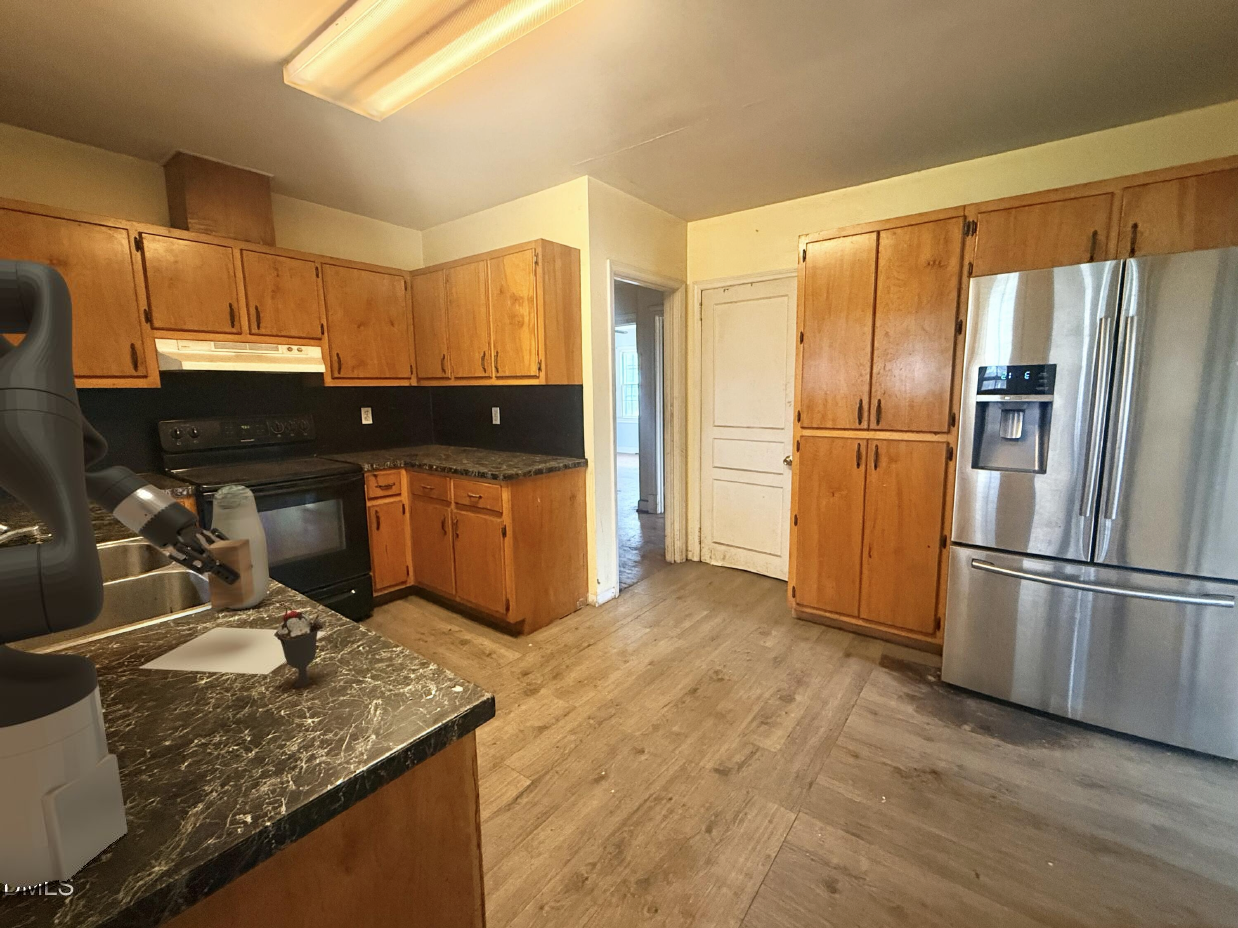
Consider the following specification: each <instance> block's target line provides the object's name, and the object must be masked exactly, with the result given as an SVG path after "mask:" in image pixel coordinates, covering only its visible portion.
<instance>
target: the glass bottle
mask: <svg viewBox="0 0 1238 928" xmlns="http://www.w3.org/2000/svg"><path fill="white" fill-rule="evenodd" d="M213 528H217V529H218V530H219V531H221V532H222V533H223V534H224V535H225V536H226V537H227V538H229V539H230V540H241V539H249V545H250V554H251V564H252V565H253V568H252V574H253V584H254V593H255V595H254V596H253V597H252V598H251V599H250V600H249V601H248V602H247V603H246V604H245V605H240V606H231V607H228V608H229V609H232V610H247V609H251V608H252V607H255V606H256V605H258V604H259V603H261V602H263V600H264V599H265V597H266V596H267V594H268V592H269V590H270V589H269V588H270V573H269V560H268V548H267V547H268V546H267V537H266V532H265V529H264V526H263V524H262V521H261V518H260V516H259V513H258V509H257V504H256V500H255V497H254V494H253V492H252V491H251V489H249V488H248V487H246V486H244V485H240V484H236V485H235V484H233V485H226V486H223V487H221V488H220V489H218V490H217V491H216V492H215V494H214V496H213V500H212V521H211V528H210V530H212V529H213ZM246 608H247V609H246Z"/></svg>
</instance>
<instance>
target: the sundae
mask: <svg viewBox="0 0 1238 928" xmlns="http://www.w3.org/2000/svg"><path fill="white" fill-rule="evenodd" d="M278 605H279V606H280V607H283V608H284V609H285V610H286V611H285V614H284V615H282V617H281V618H282V620H283V621H282V622H281V623H280V624H279V626H278V628H277V630H278V631H277V632H276V633H275V634H274V636H275V637H277V638H278V640H280V641H281V644H282V648H283V652H284V656H285V659H286V661H285V662H286V663H287V665H288V666H290V667H291V668H293V669H296V670H297V672H298V673H297V674H298V675H297V676H298V678H297V680H296V683H295V684H294V686H295V687H298V688H302V687H306V686H308V685H309V684H311V683H312V682H313V681H312V679H310V678H309V676H308V673H307V672H308V671H307V668H308V667H309V665H311V664H312V663H313V661H314V660H315V658H316V653H317V642H318V639H317V633H318V631H321V630H323V629H324V626H323V624H322V622H321V621H319V620H318V619H319V617H320V614H317V615H316V617H315V618H314V620H312V619H311V616H310V614H307V613H305V612H298V611H297V610H293V609H291V607H289V605H286V604H285V603H284V602H280V603H278ZM287 608H288V609H289V610H290V613H288V609H287ZM307 694H308V693H307V692H305V693H301V694H299V693H298V694H293V696H294V697H295V696H302V695H307Z"/></svg>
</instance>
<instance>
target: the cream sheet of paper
mask: <svg viewBox="0 0 1238 928" xmlns="http://www.w3.org/2000/svg"><path fill="white" fill-rule="evenodd" d="M277 631H278V629H268V628H267V629H266V628H265V629H264V628H242V627H241V628H240V627H221V626H220V627H214V628H212V629H210V630H208V631H207V632H205V633H203V634H201V635H199V636H197V637H195V638H193V639H191V640H189V641H188V642H186V643H185V642H184V643H183V644H181V645H180V646H178V647H176V648H174V649H172V650H170V651H168V652H166V653H164V654H163V655H161V656H158V657H157V658H155V659H153V660H150V661H149V662H147V663H145V664H144V665H142V666H139V667H138V669H149V670H167V671H169V670H170V671H171V670H172V671H187V672H188V671H189V672H190V671H191V672H206V673H207V672H209V673H210V672H211V673H230V674H248V675H249V674H251V675H268V674H270V673H272V671H274V670H275V669H277V668H278V667H280V666H281V665H282V664H284V663H285V662H287V661H286V659H285V656H284V652H283V648H282V644H281V641H280V640H278V638H277V637H275V636H274V634H275V633H276V632H277ZM327 633H328V631H321V630H319V631H318V633H317V640H319V639H320V638H321V637H323V636H324V635H325V634H327Z"/></svg>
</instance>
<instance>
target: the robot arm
mask: <svg viewBox="0 0 1238 928" xmlns="http://www.w3.org/2000/svg"><path fill="white" fill-rule="evenodd" d="M5 335H25V336H23V338H22V340H21V341H20V342H19V343H18V344H17V345H15V344H13V342H11V341H10V340H8V338H7V337H6V336H5ZM73 363H74V362H73V305H72V297H71V293H70V290H69V286H68V283H67V281H66V280H65V278H64V276H63V275H62V274H61V272H59V270H57V269H56V268H54V267H53V266H52V265H49V264H46V263H43V262H37V261H31V260H21V259H18V260H17V259H7V258H6V259H4V258H0V488H1V489H3V490H4V491H6V492H7V493H9V494H11V495H12V496H13V497H15V498H16V499H17V500H19V501H20V502H21V503H23V504H24V505H25V506H26V507H27V508H28V509H29V510H31V512H33V514H35V516H36V517H37V518H38V519H39V520H40V521H41V522H42V524H43V525H44V526H45V528H46V529H47V530H48V532H49V533H50V535H51V537H52V539H51V540H49V541H45V542H41V543H40V542H38V543H30V544H23V545H15V546H8V547H1V548H0V883H2V884H4V885H6V884H7V886H8V885H9V886H10V887H14V888H15V887H21V888H22V887H25V888H26V886H27V887H29V886H36V885H38V884H42V883H44V882H49V881H53V880H59V881H66V882H68V881H69V880H71V879H72V878H73V877H74V876H75V875H77V874H78V873H79V872H80V871H81V870H82V869H81V868H83V866H84V865H86V864H87V863H88V862H89V861H90V860H92V859H93V858H94V857H96V856H97V855H98V854H99V853H100V852H101V851H103V850H104V849H106V848H107V847H108V846H109V845H110V844H112V843H113V842H115V841H116V840H117V839H118V840H120V839H121V838H122V837H123V836H125V835H126V834H127V833H128V825H127V819H126V813H125V812H126V810H125V806H124V799H123V791H122V785H121V779H120V778H121V777H120V772H119V764H118V757H117V755H116V754H114V753H109V749H108V748H109V747H108V741H107V736H106V727H105V721H104V714H103V707H102V701H101V694H100V687H99V680H98V679H99V678H98V674H97V668H96V664H95V663H94V661H93V660H92V659H90V658H89V657H87V656H85V655H82V654H81V655H80V654H72V653H40V652H39V653H38V652H30V651H24V650H19V649H16V648H13V647H10V646H9V645H6V644H12V643H17V642H21V641H25V640H29V639H35V638H39V637H44V636H49V635H51V634H56V633H61V632H65V631H70V630H74V629H78V628H81V627H84V626H87V625H90V624H92V623H94V622H95V621H96V620H97V619H98V618H99V616H100V615H101V613H102V609H103V606H104V600H105V596H104V595H105V590H104V579H103V577H104V576H103V571H102V566H101V561H100V555H99V550H98V547H97V540H96V535H95V531H94V526H93V521H92V515H91V511H90V505H89V501H91V502H93V503H94V504H96V505H98V506H99V507H101V508H102V509H103V510H105V511H107V512H108V513H110V514H111V515H113V517H115V518H116V519H117V520H118V521H120V522H121V523H122V524H123V525H124V526H126V528H129V529H130V530H131V531H133V532H134V533H136V534H137V535H138V536H140V537H142V538H144V539H145V541H147V542H149V543H151V544H152V545H153V546H155V547H157V548H158V549H161V550H164V549H168V548H169V547H171V548H172V549H173V550H172V551H171V552H170V553H169V554H168V555H167V558H168V559H169V560H171V561H173V562H175V563H176V564H179V565H181V566H182V567H185V568H187V569H188V570H190V571H192V572H194V573H196V574H198V575H201V576H203V575H204V574H205V573H206V574H207V575H208V574H211V573H213V574H214V575H216V576H217V577H219V578H220V579H221V580H223V581H224V582H226V583H227V584H229V585H233V584H234V583H235V582H236V581H237V580H238V579H239V578H240V574H239V573H237V572H236V571H234V570H233V569H231V568H230V567H228V566H227V565H226V564H224V563H223V564H221V563H222V562H221V561H220V560H219V559H218V558H216V557H215V556H214V555H213V551H212V550H210V549H209V548H210V545H212V544H214V543H216V542H220V541H227V540H230V539H229V538H227V537H226V536H225V535H224V534H223V533H222V532H221V531H219V530H218V529H217V528H213V529H212V530H211V529H210V530H207V529H204V528H201V527H200V526H198V525H197V523H198V522H199V520H200V517H199V515H198V514H197V513H195V512H193V511H192V510H191V509H189V508H188V507H186V506H185V505H184V504H183V503H181V502H179V501H178V500H177V499H175V498H174V497H172V495H170V494H168V493H167V492H165V491H163V490H162V489H160V488H157V487H156V486H154V485H153V484H151V483H150V482H148V481H147V480H146V479H144V478H142V477H141V476H140V475H139V474H137V473H136V472H134V471H133V470H131V469H130V468H128V467H126V466H122V465H115V466H111V467H108V468H104V469H102V470H99V471H94V472H89V471H88V472H86V471H85V469H87V468H89V467H91V465H94V464H96V463H97V462H99V461H101V460H102V459H104V457H105V456H106V454H107V453H108V449H109V448H108V447H109V445H108V442H107V441H106V439H105V437H103V435H101V434H100V433H99V432H98V431H97V430H96V429H95V428H94V427H93V426H92V425H91V423H89V422H88V420H87V419H86V418H85V416H84V415H83V412H82V409H81V407H80V404H79V397H78V391H77V386H76V381H75V380H76V379H75V373H74V364H73ZM208 558H209V559H210V560H209V559H208ZM252 568H253V565H252ZM124 834H125V835H124ZM120 837H121V838H120ZM119 838H120V839H119ZM118 840H117V841H118ZM117 841H116V842H117ZM116 842H115V843H116ZM113 844H114V843H113ZM113 844H112V845H113ZM107 849H108V848H107ZM107 849H106V850H107ZM97 857H98V856H97ZM97 857H96V858H97ZM86 866H87V865H86ZM83 869H84V868H83ZM79 870H80V871H79ZM78 871H79V872H78ZM77 872H78V873H77ZM76 873H77V874H76ZM73 875H74V876H73ZM72 876H73V877H72ZM71 877H72V878H71ZM68 879H69V880H68ZM67 880H68V881H67Z"/></svg>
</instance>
